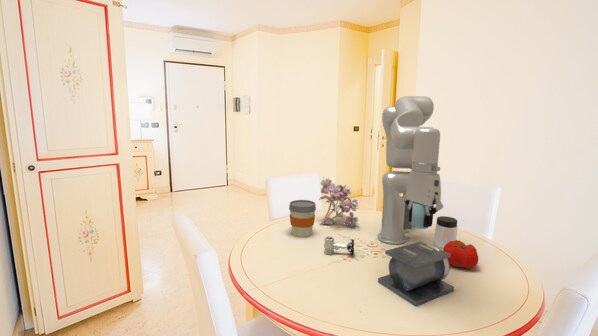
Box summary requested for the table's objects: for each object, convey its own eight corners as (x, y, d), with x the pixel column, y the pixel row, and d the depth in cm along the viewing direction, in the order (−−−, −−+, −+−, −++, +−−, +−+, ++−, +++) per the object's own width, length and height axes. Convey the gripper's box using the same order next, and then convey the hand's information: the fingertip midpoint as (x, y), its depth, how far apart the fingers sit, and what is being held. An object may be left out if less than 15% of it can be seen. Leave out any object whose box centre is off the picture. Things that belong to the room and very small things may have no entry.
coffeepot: (412, 232, 157) (415, 196, 154) (392, 230, 160) (394, 195, 157) (411, 222, 172) (414, 189, 169) (393, 221, 174) (395, 188, 171)
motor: (414, 270, 119) (417, 236, 117) (453, 290, 105) (457, 253, 103) (377, 282, 110) (380, 245, 108) (415, 306, 96) (419, 265, 94)
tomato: (434, 260, 128) (435, 239, 126) (458, 255, 132) (460, 236, 130) (459, 275, 116) (462, 252, 114) (485, 269, 120) (488, 248, 119)
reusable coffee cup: (319, 232, 155) (320, 202, 153) (306, 240, 145) (307, 208, 142) (298, 227, 162) (298, 198, 159) (283, 235, 151) (283, 204, 149)
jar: (438, 239, 148) (440, 214, 147) (457, 244, 143) (459, 218, 141) (431, 245, 142) (434, 219, 140) (451, 250, 137) (454, 223, 135)
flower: (335, 234, 149) (356, 184, 151) (302, 217, 165) (321, 173, 167) (357, 241, 163) (375, 196, 165) (324, 226, 179) (342, 184, 181)
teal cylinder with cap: (418, 222, 107) (420, 196, 106) (431, 227, 103) (434, 200, 102) (407, 224, 105) (409, 198, 103) (420, 229, 100) (422, 202, 99)
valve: (323, 256, 129) (353, 258, 128) (323, 240, 128) (354, 242, 127) (324, 249, 136) (352, 251, 135) (324, 234, 135) (353, 236, 134)
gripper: (456, 171, 95) (451, 230, 98) (411, 163, 110) (407, 215, 113) (440, 173, 92) (435, 234, 95) (395, 165, 106) (391, 218, 109)
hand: (420, 223), depth 104 cm, fingers closed on teal cylinder with cap, 5 cm apart
